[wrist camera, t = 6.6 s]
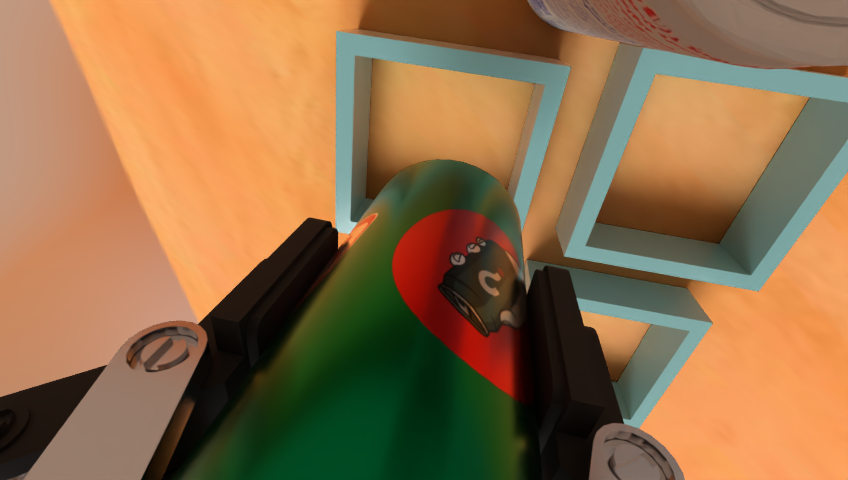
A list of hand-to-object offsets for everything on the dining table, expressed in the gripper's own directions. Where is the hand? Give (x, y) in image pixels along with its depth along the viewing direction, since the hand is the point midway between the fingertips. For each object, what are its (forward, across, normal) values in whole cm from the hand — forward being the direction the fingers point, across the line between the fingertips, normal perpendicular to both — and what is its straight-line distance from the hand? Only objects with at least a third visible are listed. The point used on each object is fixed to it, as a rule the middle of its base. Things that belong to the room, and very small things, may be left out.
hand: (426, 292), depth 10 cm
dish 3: (+13, -10, +11) cm, 19 cm away
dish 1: (+12, +1, 0) cm, 12 cm away
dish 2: (+13, -11, -1) cm, 17 cm away
